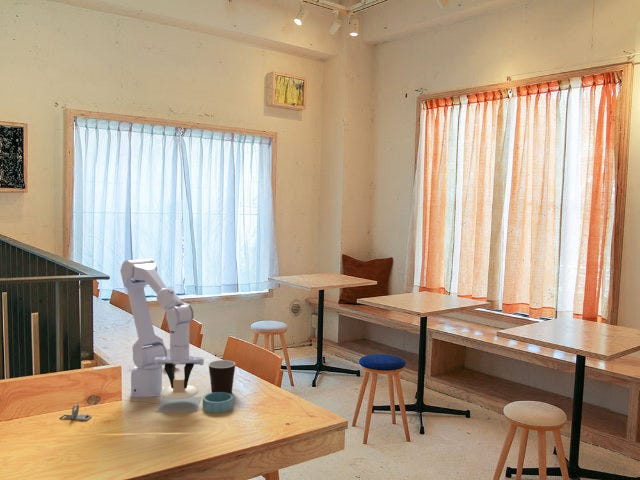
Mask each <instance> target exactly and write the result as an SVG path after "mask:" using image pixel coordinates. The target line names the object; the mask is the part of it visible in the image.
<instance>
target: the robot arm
mask: <svg viewBox="0 0 640 480" xmlns="http://www.w3.org/2000/svg"><path fill="white" fill-rule="evenodd" d="M120 274H121V275H120V276H121V280H122V283H123V287H124V288H126V291H127V296H128V300H129V304H130V309H131V313H132V317H133V321H134V326H135V329H136V334H137V340H136V341H135V342H134V344H133V345H132V347H131V349H132V361H133V363H134V365H135V366H133V367H132V369H131V371H130V372H131V373H130V397H134V398H135V397H136V398H137V397H138V398H139V397H144V398H145V397H162V396H161V390H162V389H164V388H166V387H165V386H163V369H164V372H165V373H166V375H167V376H168V380H169V383H170V386H171V388H173V379H174V378H175V377H176V375H175V372H176V370H175V369H176V366H175V364H177V365H184V367H183V371H184V373H183V374H184V376H185V380H184V388H187V385H188V383H189V379H190V375H191V373H192V371H193V368H194V366H195V365H199V366H203V365H204V364H205V357H204V356H203V357H201V356H194V355H193V356H192V355H191V356H190V323H191V322H192V321H193V320H194V317H195V316H194V315H195V314H194V313H195V312H194V309H193V307H192V305H191V304H189V303H187V302H185V301H184V302H183V301H182V300H181V299H180V297H179V295H178V294H177V293H176V292H175V291H174V290H173V289H174V288H171V287H167V286H166V285H165V283H164V281H163V279H162V278H161V277H160V275H159V273H158V264H157V263H156V262H155V260H154V259H153V258H152V257H151V258H150V257H149V258H142V259H130V260H129V259H125V260H124V261H123V262H122V265H121V267H120ZM146 286H149V287H150V288H151V290H153V292H154V293H155V294H156V301H157V302H158V304H159V305H160V306H161V309H163V311H164V312H165V313H166V314H165V318H166V322H167V324H168V330H169V349H170V356H168V351H167V350H168V348H167V346H166V345H165V343H164V339H163V338H162V337H160V336H158V335H157V334H155V331H154V330H155V329H154V327H153V326H154V325H153V321H152V316H151V314H150V310H149V306H148V305H149V304H148V301H147V296H146V293H145V288H146ZM163 367H164V368H163Z"/></svg>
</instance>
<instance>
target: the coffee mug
mask: <svg viewBox="0 0 640 480" xmlns="http://www.w3.org/2000/svg"><path fill="white" fill-rule="evenodd" d="M235 370H236V362H235V361H232V360H228V359H227V360H226V359H219V360H213V361H211V362H209V363H208V371H209V379H210V390H211V393H213V392H226V393H230V394H232V393H233V386H234V380H235V379H234V377H235Z"/></svg>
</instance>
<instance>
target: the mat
mask: <svg viewBox="0 0 640 480" xmlns="http://www.w3.org/2000/svg"><path fill="white" fill-rule="evenodd" d="M201 400H202V396H192V397H189V398H185V399H168V398H164V397H162V399H161V401H160V402H159V405H158V407H157V409H156V410H155V412H156V413H169V412H170V413H176V412H179V413H181V412H189V413H190V412H192V413H193V412H198V409H199V406H200V403H201Z"/></svg>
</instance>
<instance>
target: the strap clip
mask: <svg viewBox="0 0 640 480" xmlns="http://www.w3.org/2000/svg"><path fill="white" fill-rule="evenodd" d="M79 410H80V405H79V403H77V404H76V403H75V404H74V405H73V406H72V409H71V414H63V415H62V416H60V417H59V418H58V419H59V420H60V421H61V420H62V421H63V420H64V421H72V420H74V421H79V422H87V421H89V420H91V419H92V415H89V414H79Z"/></svg>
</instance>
